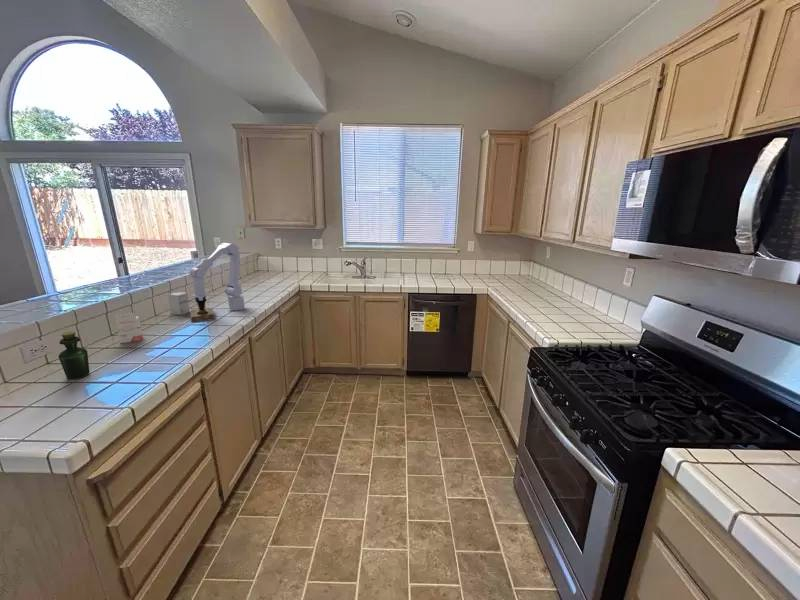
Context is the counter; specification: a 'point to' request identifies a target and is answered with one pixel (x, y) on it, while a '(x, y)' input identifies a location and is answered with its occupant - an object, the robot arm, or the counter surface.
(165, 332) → the counter surface
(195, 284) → the robot arm
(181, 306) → the supplement box
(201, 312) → the brass cylinder
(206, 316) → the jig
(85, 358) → the potion bottle
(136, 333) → the ink cartridge box
